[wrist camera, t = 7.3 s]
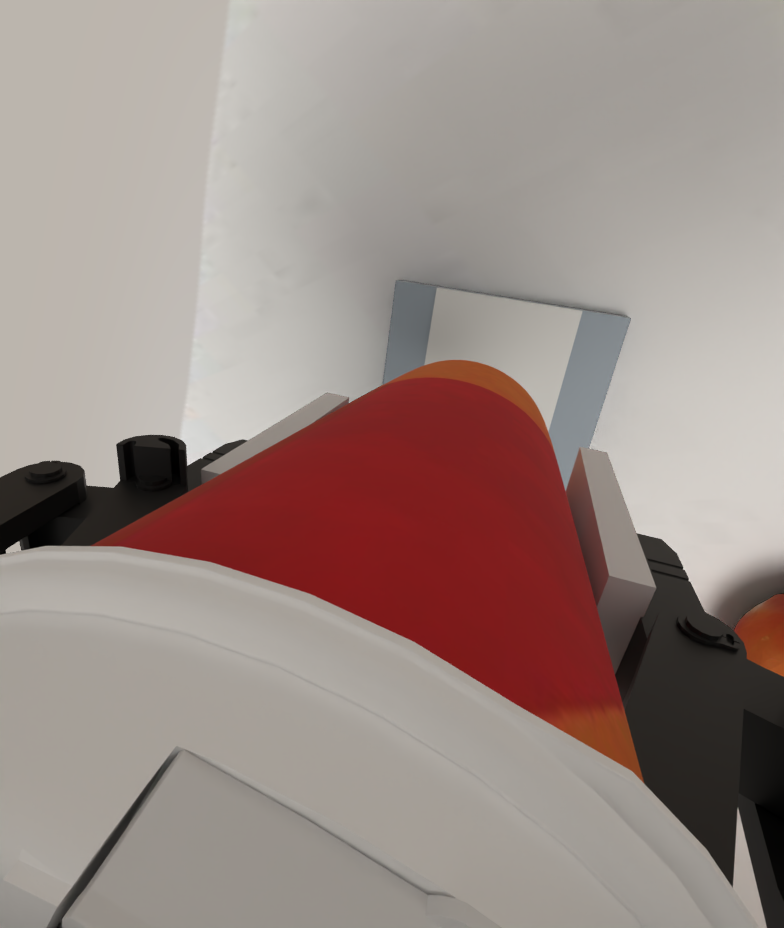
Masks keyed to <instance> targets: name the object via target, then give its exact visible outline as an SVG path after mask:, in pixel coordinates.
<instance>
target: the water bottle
mask: <svg viewBox="0 0 784 928" xmlns="http://www.w3.org/2000/svg"><path fill="white" fill-rule="evenodd" d="M733 889H734V890H735V892H736V893H737V895H738V896H739V898H740V899H741V901H742V902H743V904H744V905H745V907H746V908H747V910H748V911H749V912H750V914H751V915H752V917H753V918H754V920H755V921H756V923H757V924H758V926H759V928H767V926H766V922H765V918H764V913H763V909H762V905H761V901H760V897H759V893H758V889H757V884H756V880H755V876H754V872H753V868H752V864H751V859H750V855H749V851H748V847H747V843H746V839H745V835H744V830H743V826H742V822H741V818H740V814H739V810H738V811H737V828H736V844H735V861H734V878H733Z"/></svg>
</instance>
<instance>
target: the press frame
mask: <svg viewBox="0 0 784 928" xmlns="http://www.w3.org/2000/svg"><path fill="white" fill-rule="evenodd" d="M630 320H631V318H629V317H628V316H622V315H616V314H610V313H604V312H597V311H591V310H585V309H579V308H572V307H566V306H560V305H554V304H547V303H541V302H535V301H529V300H522V299H516V298H510V297H504V296H497V295H491V294H485V293H479V292H472V291H466V290H460V289H454V288H447V287H441V286H435V285H429V284H422V283H416V282H410V281H404V280H398V281H396V284H395V292H394V300H393V308H392V316H391V324H390V331H389V339H388V347H387V355H386V363H385V371H384V379H383V385H384V384H386V383H388V382H390V381H391V380H393V379H395V378H397V377H399V376H401V375H403V374H405V373H407V372H410V371H412V370H414V369H416V368H419V367H421V366H424V365H427V364H430V363H434V362H438V361H445V360H468V361H474V362H479V363H482V364H486V365H489V366H491V367H494V368H496V369H498V370H500V371H502V372H504V373H505V374H507V375H508V376H510V377H511V378H512V379H514V380H515V381H516V382H518V383H519V384H520V385H521V386H522V387H523V388H524V389H525V390H526V391H527V392H528V394H529V395H530V396H531V397H532V399H533V400H534V402H535V403H536V405H537V407H538V409H539V411H540V413H541V415H542V417H543V419H544V421H545V424H546V427H547V430H548V433H549V436H550V439H551V442H552V445H553V449H554V452H555V456H556V459H557V462H558V466H559V469H560V473H561V477H562V480H563V484H564V488H565V491H566V489H567V486H568V482H569V479H570V476H571V473H572V470H573V467H574V463H575V460H576V457H577V454H578V451H579V448H580V447H584V448H588V449H589V446H590V443H591V440H592V437H593V434H594V431H595V428H596V425H597V422H598V418H599V415H600V412H601V409H602V406H603V403H604V400H605V397H606V394H607V391H608V388H609V385H610V382H611V378H612V375H613V372H614V369H615V366H616V363H617V360H618V357H619V354H620V351H621V348H622V345H623V341H624V338H625V335H626V332H627V329H628V326H629V323H630Z"/></svg>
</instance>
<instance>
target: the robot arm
mask: <svg viewBox="0 0 784 928" xmlns="http://www.w3.org/2000/svg"><path fill="white" fill-rule="evenodd" d="M348 403H349V397H345V396H340V395H335V394H331V393H326V394H324V395H322V396H321V397H319V398H317V399H316V400H314V401H313V402H311V403H309V404H308V405H306V406H304V407H303V408H301V409H299V410H298V411H296V412H294V413H293V414H291V415H289V416H288V417H286V418H285V419H283V420H281V421H280V422H278V423H276V424H275V425H273V426H271V427H270V428H268V429H266V430H265V431H263V432H261V433H260V434H258V435H257V436H255V437H253V438H252V439H250V440H248V441H247V440H239V441H235V442H231V443H228V444H225V445H223V446H221V447H219V448H218V449H216V450H214V451H213V453H209V454H207V455H205V456H204V457H203V459H201V458H200V459H199V460H197V461H195V462H193V463H192V464H190V465H188V466H187V456H186V444H185V443H184V442H183V441H182V440H180V439H177V438H175V437H170V436H164V435H145V436H136V437H132V438H129V439H125V440H123V441H121V442H120V443H118V444H117V445H116V446H117V455H118V463H119V473H120V482H119V483H118V484H117V485H116V486H115V487H114V488H109V487H108V488H107V487H96V486H86V479H85V472H84V470H83V469H82V468H81V466H79V465H76V464H73V463H67V462H60V461H51V462H50V461H44V462H40V463H38V464H33V465H28V466H26V467H23V468H20V469H17V470H15V471H13V472H11V473H9V474H7V475H4V476H2V477H1V478H0V555H2V554H6V551H5V550H6V549H7V548H8V547H10V546H11V545H13V544H15V543H16V542H18V541H20V546H21V551H22V550H27V549H33V548H38V547H43V546H91V545H93V544H95V543H97V542H99V541H100V540H102V539H104V538H106V537H108V536H110V535H111V534H113V533H115V532H117V531H119V530H120V529H122V528H124V527H126V526H128V525H129V524H131V523H133V522H135V521H137V520H138V519H140V518H142V517H144V516H146V515H148V514H149V513H151V512H153V511H155V510H157V509H158V508H160V507H162V506H164V505H166V504H167V503H169V502H171V501H173V500H175V499H177V498H178V497H180V496H182V495H184V494H186V493H187V492H189V491H191V490H193V489H195V488H196V487H198V486H200V485H202V484H204V483H206V482H207V481H209V480H211V479H213V478H215V477H216V476H218V475H220V474H222V473H224V472H225V471H227V470H229V469H231V468H233V467H234V466H236V465H238V464H240V463H242V462H244V461H245V460H247V459H249V458H251V457H253V456H254V455H256V454H258V453H260V452H262V451H263V450H265V449H267V448H269V447H271V446H272V445H274V444H276V443H278V442H280V441H281V440H283V439H285V438H287V437H289V436H290V435H292V434H294V433H296V432H298V431H299V430H301V429H303V428H305V427H307V426H309V425H310V424H312V423H314V422H316V421H318V420H319V419H321V418H323V417H325V416H327V415H328V414H330V413H332V412H334V411H336V410H338V409H339V408H341V407H343V406H345V405H347V404H348ZM566 495H567V498H568V502H569V506H570V509H571V513H572V517H573V520H574V524H575V528H576V531H577V535H578V539H579V543H580V546H581V550H582V554H583V558H584V561H585V565H586V569H587V573H588V576H589V580H590V584H591V588H592V591H593V595H594V599H595V602H596V606H597V610H598V614H599V617H600V621H601V625H602V629H603V632H604V636H605V640H606V644H607V647H608V651H609V655H610V658H611V662H612V666H613V670H614V673H615V677H616V681H617V684H618V688H619V692H620V696H621V699H622V703H623V707H624V710H625V714H626V718H627V722H628V725H629V729H630V733H631V736H632V740H633V744H634V748H635V751H636V755H637V759H638V762H639V766H640V770H641V774H642V777H643V781H644V784H645V785H646V786H647V787H648V788H649V789H650V790H651V791H652V792H653V794H654V795H655V796H656V797H657V798H658V799H659V800H660V801H661V802H662V803H663V804H664V805H665V806H666V807H667V808H668V809H669V810H670V811H671V812H672V813H673V815H674V816H675V817H676V818H677V819H678V820H679V821H680V822H681V823H682V824H683V825H684V826H685V827H686V828H687V829H688V830H689V831H690V832H691V833H692V834H693V836H694V837H695V838H696V839H697V840H698V841H699V842H700V843H701V844H702V845H703V846H704V847H705V848H706V849H707V851H708V852H709V854H710V855H711V857H712V858H713V860H714V861H715V862H716V864H717V865H718V867H719V868H720V870H721V871H722V873H723V874H724V876H725V877H726V879H727V880H728V882H729V883H730V885H731V886H732V887H733V878H734V861H735V844H736V828H737V811H738V810H739V814H740V818H741V822H742V826H743V830H744V835H745V839H746V843H747V847H748V851H749V855H750V859H751V864H752V868H753V872H754V876H755V880H756V884H757V889H758V893H759V897H760V901H761V905H762V909H763V913H764V918H765V922H766V926H767V928H784V677H783V676H781V675H779V674H777V673H775V672H773V671H770V670H768V669H766V668H764V667H762V666H760V665H758V664H756V663H754V662H752V661H750V660H748V659H747V652H746V648H745V645H744V642H743V641H742V640H741V639H740V637H739V636H738V635H737V634H736V633H735V631H733V630H732V629H731V628H729V627H728V626H727V625H726V624H724V623H723V622H722V621H720V620H718V619H716V618H715V617H713V616H711V615H709V614H707V613H705V612H704V610H703V608H702V605H701V603H700V601H699V599H698V597H697V595H696V593H695V591H694V589H693V587H692V585H691V583H690V582H689V581H688V580H689V578H688V576H687V574H686V572H685V570H683V566H682V564H681V562H680V560H679V557H678V555H677V553H675V552H674V551H673V550H672V549H671V548H670V547H669V546H668V545H667V544H666V543H665V542H664V541H663V540H662V539H658V538H653V537H649V536H645V535H641V534H637V533H636V531H635V528H634V525H633V522H632V520H631V517H630V514H629V512H628V509H627V506H626V503H625V501H624V498H623V495H622V492H621V490H620V487H619V484H618V481H617V479H616V476H615V473H614V471H613V468H612V465H611V462H610V460H609V457H608V454H607V452H602V451H598V450H593V449H588V448H584V447H580V448H579V451H578V454H577V457H576V460H575V463H574V467H573V470H572V473H571V476H570V479H569V482H568V486H567V489H566Z"/></svg>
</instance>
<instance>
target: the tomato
mask: <svg viewBox="0 0 784 928" xmlns="http://www.w3.org/2000/svg"><path fill="white" fill-rule="evenodd" d="M734 631H735V633H736V634H737V635H738V636H739V637H740V639H741V640H742V641H743V642H744V645H745V648H746V652H747V659H748V660H750V661H752V662H754V663H756V664H758V665H760V666H762V667H764V668H766V669H768V670H770V671H773V672H775V673H777V674H779V675H781V676H783V677H784V594H777V595H774V596H773V597H771V598H770V599H768V600H766V601H764V602H762V603H760V604H759V605H757V606H755V607H754V608H753V609H752V610H750V611H749V612H747V613H746V614H745V615H744V616H743V617H742V618H741V619H740V620H739V621H738V623H737V625H736V627H735V629H734Z"/></svg>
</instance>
